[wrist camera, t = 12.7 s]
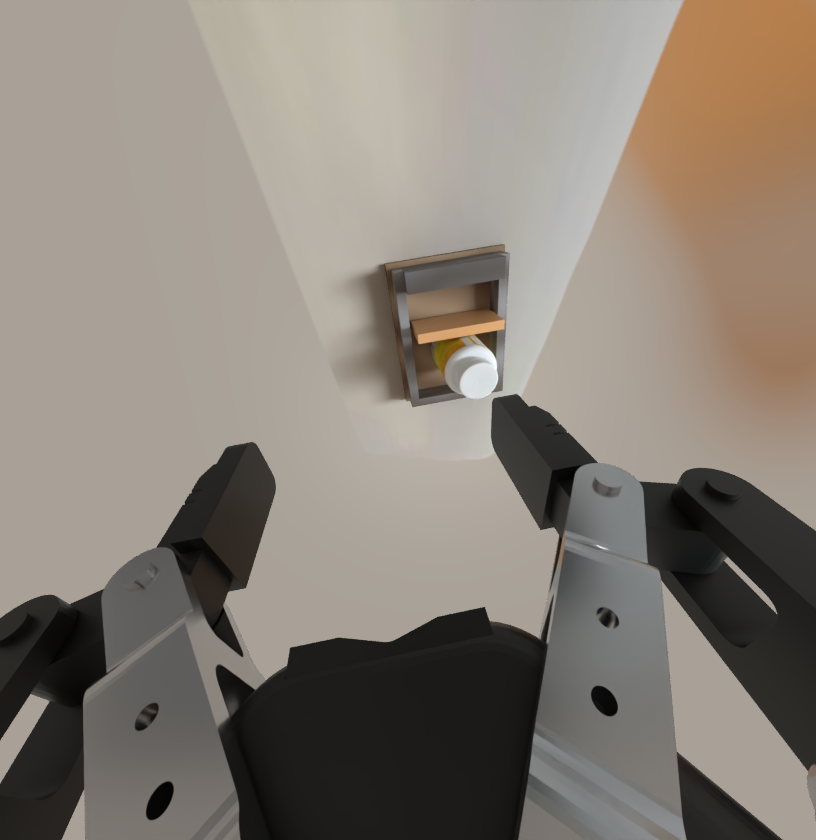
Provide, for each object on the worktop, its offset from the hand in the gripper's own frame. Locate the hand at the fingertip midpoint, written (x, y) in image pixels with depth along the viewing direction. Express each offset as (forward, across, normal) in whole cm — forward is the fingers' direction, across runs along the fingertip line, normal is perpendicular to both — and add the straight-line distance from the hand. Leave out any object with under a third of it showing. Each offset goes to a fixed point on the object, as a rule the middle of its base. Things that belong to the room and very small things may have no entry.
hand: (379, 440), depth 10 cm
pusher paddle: (+27, -9, +5) cm, 29 cm away
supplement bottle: (+28, -9, +8) cm, 30 cm away
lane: (+28, -9, +7) cm, 30 cm away
